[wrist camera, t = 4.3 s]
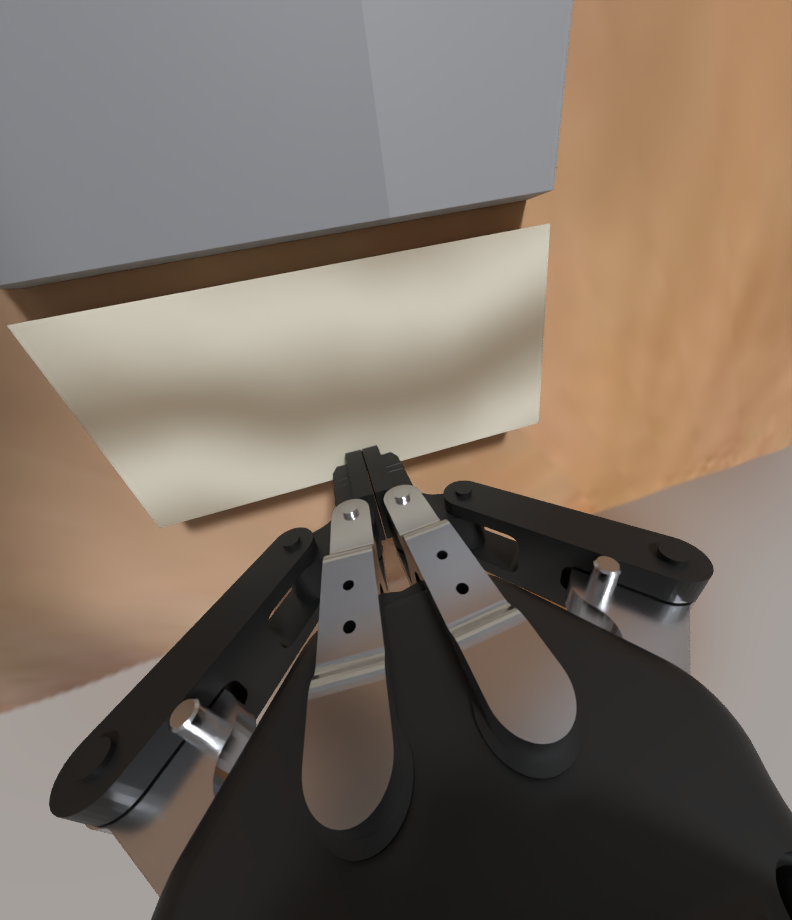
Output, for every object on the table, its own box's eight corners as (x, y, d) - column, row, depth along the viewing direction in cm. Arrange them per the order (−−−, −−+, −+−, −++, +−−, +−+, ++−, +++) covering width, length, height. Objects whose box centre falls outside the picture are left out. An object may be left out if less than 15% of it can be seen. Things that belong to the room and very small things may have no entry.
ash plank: (48, 324, 10) (6, 325, 9) (525, 233, 12) (549, 223, 11) (175, 507, 14) (159, 528, 12) (520, 414, 16) (538, 422, 15)
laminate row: (-342, -191, 5) (-544, -337, 4) (553, -189, 7) (602, -284, 6) (21, 288, 9) (-24, 289, 8) (527, 199, 11) (553, 189, 10)
